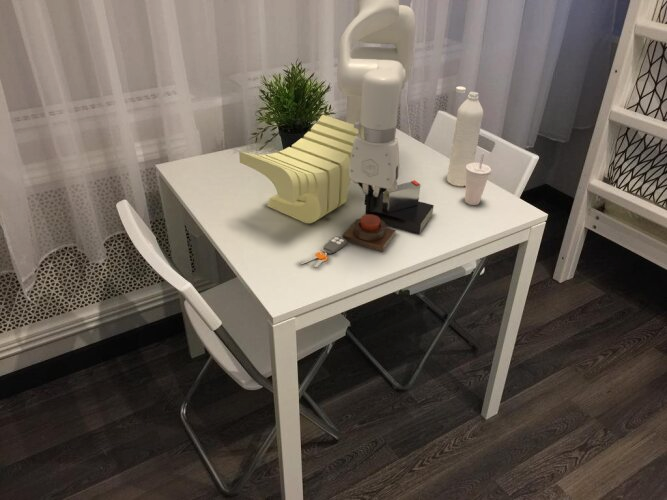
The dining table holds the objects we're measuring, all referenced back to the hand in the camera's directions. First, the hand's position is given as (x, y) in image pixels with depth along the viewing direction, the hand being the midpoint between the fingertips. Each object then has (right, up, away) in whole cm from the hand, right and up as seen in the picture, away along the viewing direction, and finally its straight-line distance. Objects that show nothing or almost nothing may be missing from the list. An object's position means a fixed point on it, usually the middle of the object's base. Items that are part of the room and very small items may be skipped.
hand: (371, 208), depth 132 cm
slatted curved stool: (-15, +1, +16) cm, 22 cm away
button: (0, -4, +3) cm, 5 cm away
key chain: (-10, -10, -2) cm, 15 cm away
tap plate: (+8, -1, +13) cm, 15 cm away
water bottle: (+25, +10, +31) cm, 41 cm away
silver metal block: (+8, +1, +11) cm, 13 cm away
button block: (0, -6, +5) cm, 8 cm away
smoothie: (+28, +3, +21) cm, 35 cm away
